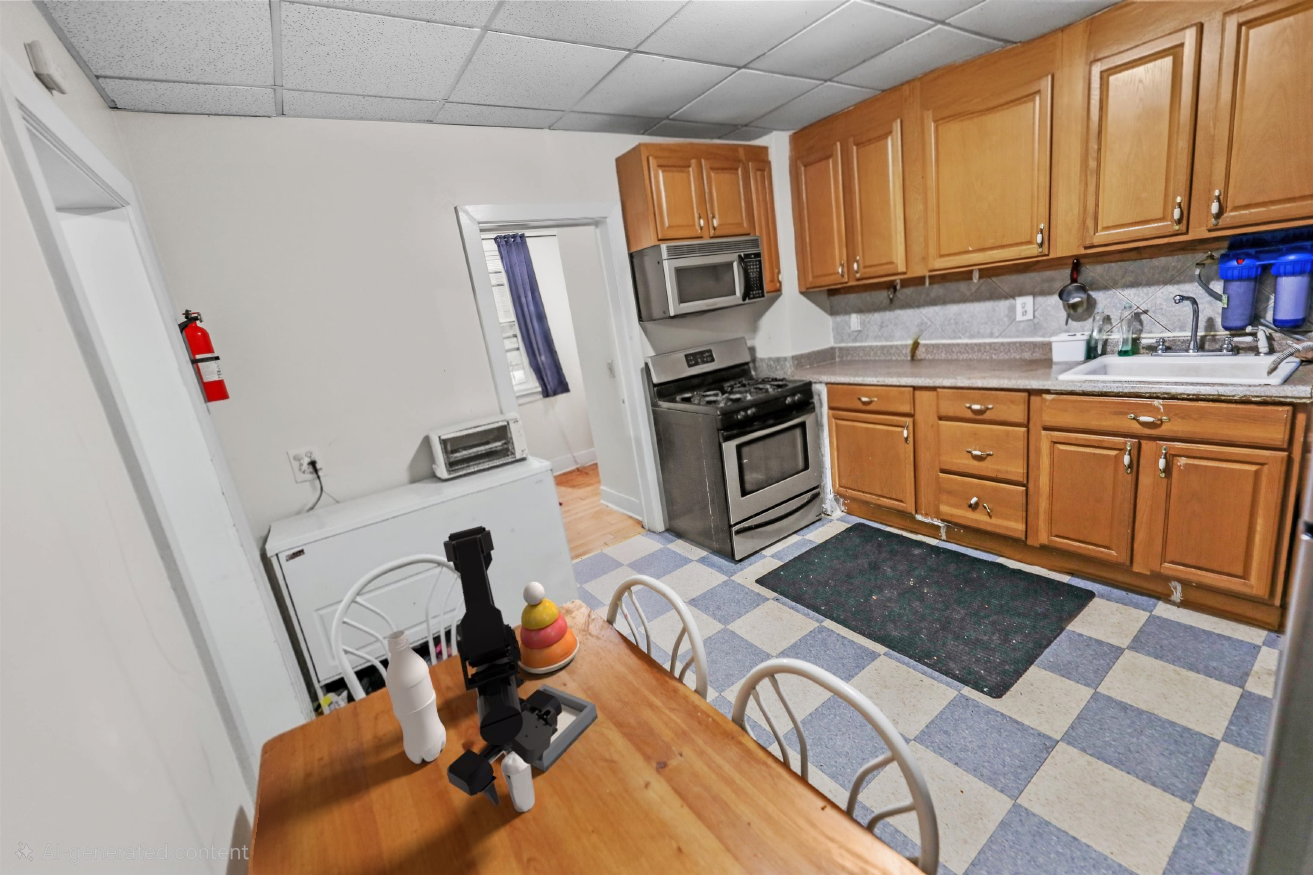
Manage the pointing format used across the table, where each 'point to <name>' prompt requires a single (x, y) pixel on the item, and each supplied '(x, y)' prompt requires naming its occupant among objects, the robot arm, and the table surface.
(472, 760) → the robot arm
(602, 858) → the table surface
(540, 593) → the stacking toy
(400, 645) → the water bottle
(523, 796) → the milkshake
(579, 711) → the gray square tray
